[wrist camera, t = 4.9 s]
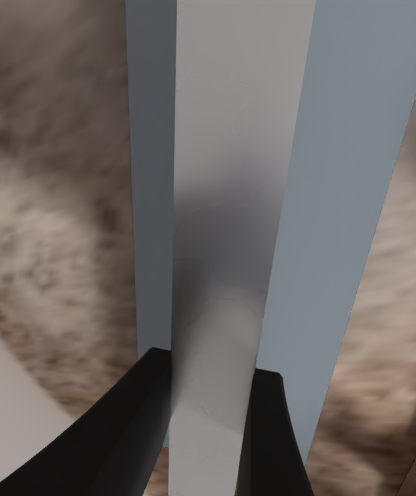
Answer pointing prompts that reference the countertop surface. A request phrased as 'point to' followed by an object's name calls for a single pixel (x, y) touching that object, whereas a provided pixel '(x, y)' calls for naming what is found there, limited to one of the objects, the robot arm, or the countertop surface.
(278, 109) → the steel rail
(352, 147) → the slate mat
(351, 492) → the countertop surface
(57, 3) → the countertop surface
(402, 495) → the cradle rack
